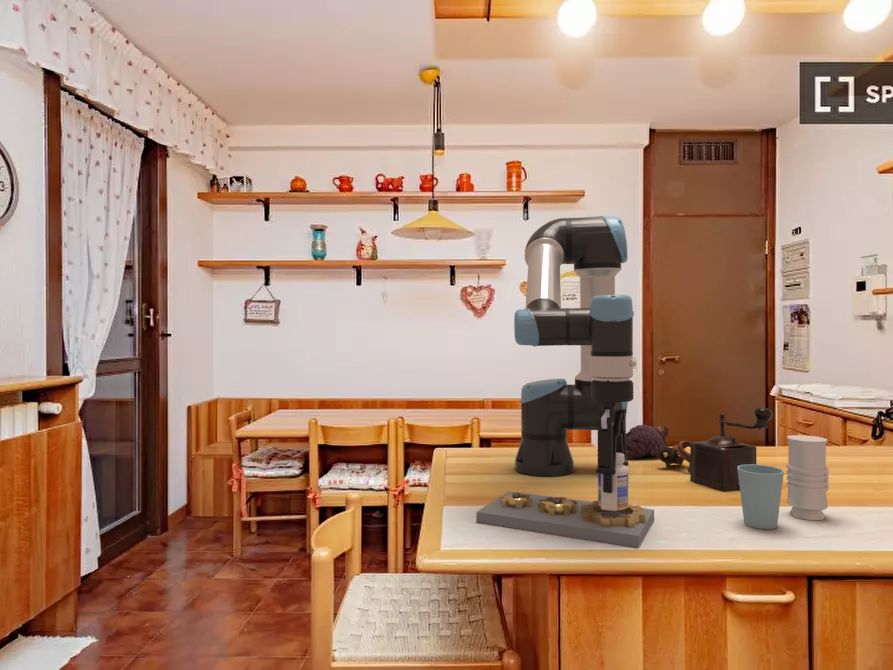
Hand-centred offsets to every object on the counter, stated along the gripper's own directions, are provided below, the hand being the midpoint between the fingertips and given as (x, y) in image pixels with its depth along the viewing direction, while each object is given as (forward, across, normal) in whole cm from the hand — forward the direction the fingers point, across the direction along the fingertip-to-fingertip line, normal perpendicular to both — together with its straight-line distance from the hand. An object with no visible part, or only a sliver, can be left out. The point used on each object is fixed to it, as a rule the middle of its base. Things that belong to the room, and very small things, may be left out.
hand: (612, 504), depth 111 cm
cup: (+5, +14, -24) cm, 28 cm away
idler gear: (+2, 0, +19) cm, 19 cm away
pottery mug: (+4, +54, -6) cm, 54 cm away
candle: (+5, +24, -32) cm, 40 cm away
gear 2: (+2, 0, 0) cm, 2 cm away
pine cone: (+4, +65, +6) cm, 65 cm away
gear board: (+4, 0, +9) cm, 10 cm away
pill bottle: (+1, 0, 0) cm, 1 cm away
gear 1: (+2, 0, +10) cm, 11 cm away
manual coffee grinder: (+4, +44, -18) cm, 48 cm away
